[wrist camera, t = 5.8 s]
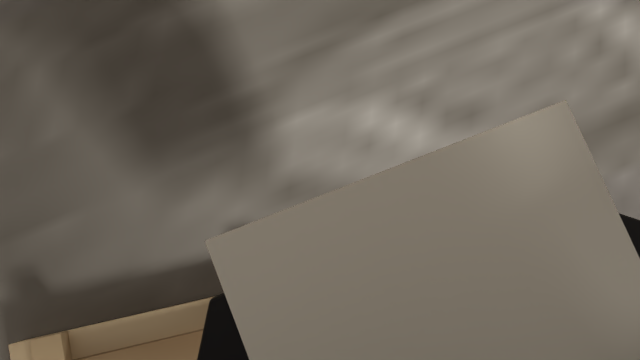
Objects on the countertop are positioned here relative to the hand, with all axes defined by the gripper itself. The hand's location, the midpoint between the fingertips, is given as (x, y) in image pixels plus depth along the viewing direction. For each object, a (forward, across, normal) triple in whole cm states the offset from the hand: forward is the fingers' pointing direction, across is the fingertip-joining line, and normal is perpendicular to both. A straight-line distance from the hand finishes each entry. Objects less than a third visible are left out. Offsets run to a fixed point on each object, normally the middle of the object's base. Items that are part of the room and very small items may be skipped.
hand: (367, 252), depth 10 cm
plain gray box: (+4, 0, +6) cm, 7 cm away
